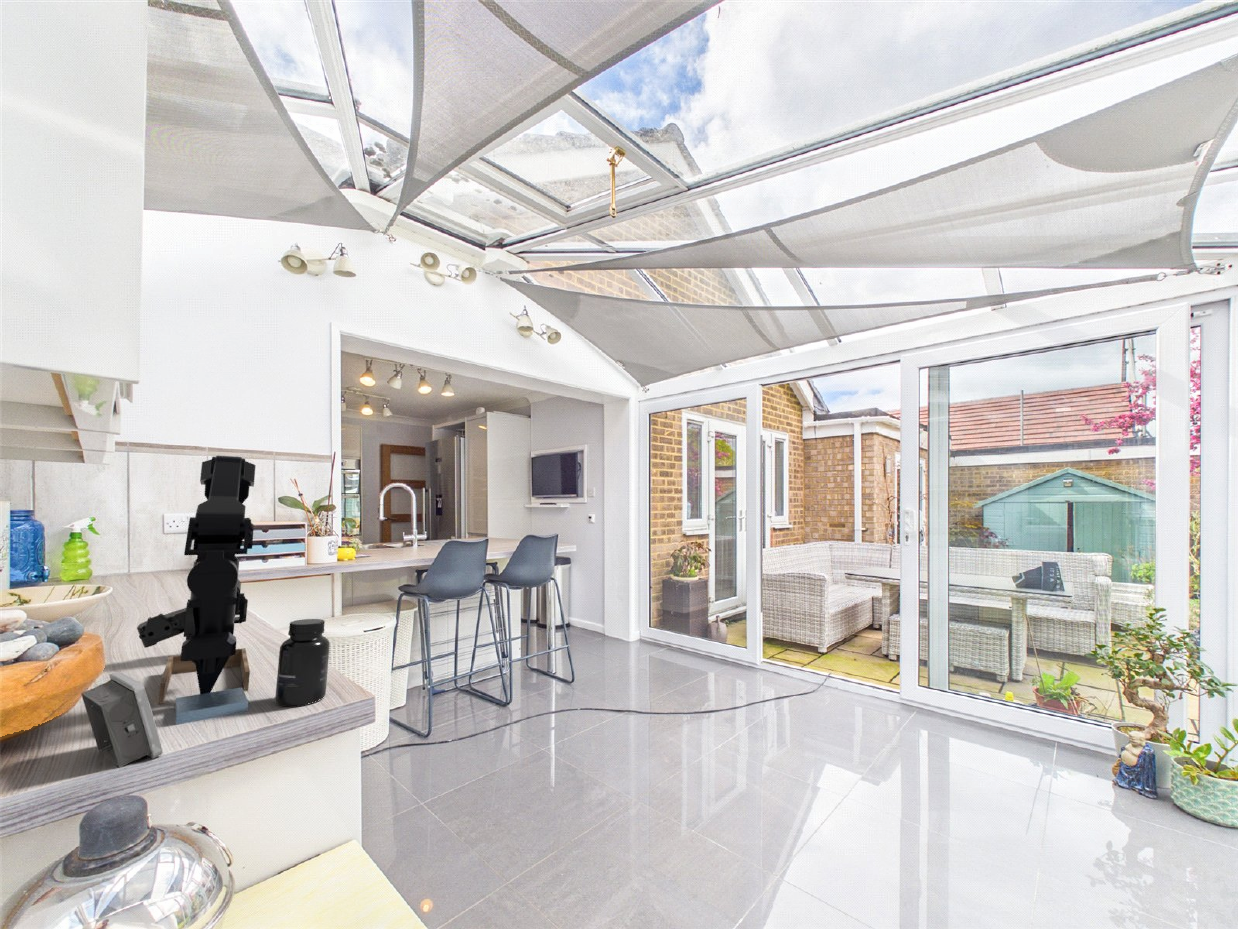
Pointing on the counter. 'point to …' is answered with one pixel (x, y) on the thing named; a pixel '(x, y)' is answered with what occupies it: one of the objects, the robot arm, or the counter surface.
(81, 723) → the counter surface
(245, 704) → the cover plate
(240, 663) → the open box
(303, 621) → the supplement bottle
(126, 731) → the electrical switch
